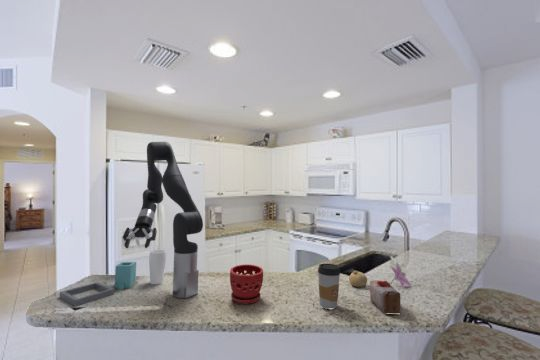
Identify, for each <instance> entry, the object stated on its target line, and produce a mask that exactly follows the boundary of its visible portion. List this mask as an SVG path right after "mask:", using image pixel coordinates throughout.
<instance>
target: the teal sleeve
mask: <svg viewBox="0 0 540 360" xmlns="http://www.w3.org/2000/svg"><path fill="white" fill-rule="evenodd" d="M114 270H115V271H114V272H115V273H114V275H115V276H114V286H115V288H118V289H117V290H118V291H119V290H125V289H124V288H131V287H132V286H133V285H134V284H135V282H137V281H136V278H137V261H121V262H119V263H118V264H116V265H115V269H114Z"/></svg>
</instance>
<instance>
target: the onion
mask: <svg viewBox="0 0 540 360" xmlns="http://www.w3.org/2000/svg"><path fill="white" fill-rule="evenodd" d="M348 282H349V283H350V285H352V286H353V287H356V288H365V287H366V285H367V283H368V278H367V275H365V273H363V272H361V271H358V270H353V271H352V272H351V274H350V275H349V277H348Z"/></svg>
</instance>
